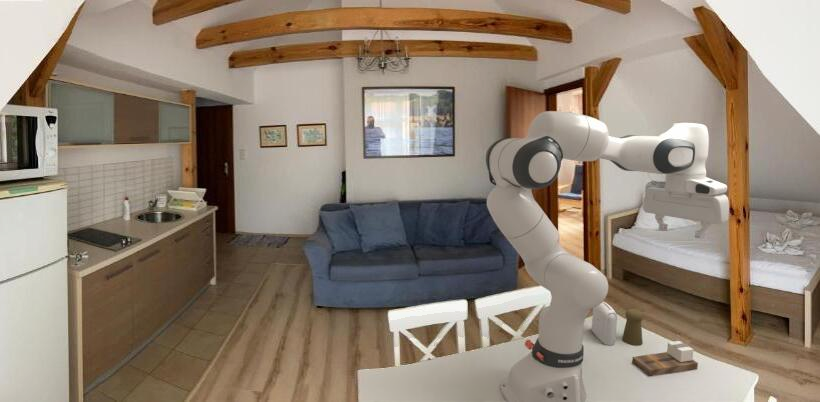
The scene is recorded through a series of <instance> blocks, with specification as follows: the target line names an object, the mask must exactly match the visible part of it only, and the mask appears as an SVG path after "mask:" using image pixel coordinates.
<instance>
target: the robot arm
mask: <svg viewBox="0 0 820 402" xmlns="http://www.w3.org/2000/svg"><path fill="white" fill-rule="evenodd" d="M709 137H710V136H709V130H708V127H707V126H706V125H704V123H699V122H696V121H694V122H693V121H692V122H691V121H677V122H674V123H673V124H672V126H671V127H670V128H669V129H668V130H667V131H666V132H663V133H660V134H659V135H656V136H655V135H636V134H628V135H627V134H626V135H624V136H619V137H614V136H610V132H609V128H608V126H607V125H606V123H605V122H603V121H601V120H599V119H597V118H594V117H592V116H589V115H586V114H585V115H584V114H581V113H576V112H570V111H559V110H556V111H555V110H548V111H542V112H541V113H539V114H537V115H536V116H534V119H533V120H532V121H531V123H530V126H529V130H528V134H527V135H526V136H525V137H524V138H523V137H521V138H520V137H504V138H503V137H502V138H500V139H498V140H496V141H494V142H493V143H492V144H490V146H489V147H488V149H487V151H486V153H485V165H486V168H487V169H486V170H487V171H488V178H489V182H490V183H491V184H493V186H495V187H494V188H493V189H492V190H491V191H490V193H489V194H488V196H487V198H486V207H487V210H488V212H489V214H490V216H491V217H492V219H493V221H494V223H495V225H496V226H497V227H498V229H499V230H500V232H501V233H502V235H504V237H505V239H507V241H508V243H510V244H511V245H512V247H513V249H514V250H515V251H516V252H517V253H518V255H519V257H521V259H522V260H523V263H524V267H525V271H526V272H527V274H528V275H529V276H530V278H532V279H533V281H535V283H537V284H538V285H540V286H541V287H542V288H544V289H545V290H547V291H549V292H550V295H551V298H550V303H549V305H547V306H546V307H544V308H543V309H542V310H540V312H539V315H538V335H537V336H538V337H537V338H536V341H535V342H534V343H533V342H532V341H531V340H530V339H526V340H525V341H524V346H525V347H526V348H527V350H530V351H531V352H528V354H526V355H525V356H524V357H522V358H521V359H520V360H519V361H517V362H516V363H514V364H513V365H512V366H511V368H510V370H509V374H508V376H507V377H505V378H502V379H501V380H500V384H499V389H500V393H501V394H502V396H503V398H504V399H505V401H506V402H585V401H586V399H587V393H586V391H585V385H584V379H583V367H582V366H583V362H584V354H585V352H584V350H585V348H584V345H583V340H584V338H583V337H584V329H585V322H586V317H587V315H588V313H590V310H593V308H595V307H597V306H598V305H600V304H601V303H602V302H605V299H607V298H606V297H607V295H608V292H609V281H608V279H607V277H606V275H605V274H604V273H602V272H601V271H600V270H599V269H598V268H596V267H595V266H594V265H593V264H592V263H589V262H587V261H586V260H584V259H580V258H579V257H577V256H574V255H573V254H571V253H569V252H568V251H567V250H565V249H564V248H563V247H562V245H560V243H559V241H560V234H559V231H558V229H557V228H556V226H555V225H554V224H553V222H552V221H551V220H550V219H549V217H548V215H547V214H546V213H545V212H544V210H543V208H542V207H541V206H540V205H539V203H538V202H537V201H536V200H535V198H534V195H533V192H532V190H540V189H544V188H546V187H549V186H550V185H552V184H553V183H554V182H555V180H556V179H557V177H558V175H559V172H560V169H561V167H562V161H563V160H569V161H574V162H595V161H597V160H599V159H603V160H605V161H606V160H608V161H610V162H612V163H613V164H614V165H615V166H616V167H618V168H619V169H620V170H622V171H627V172H641V173H648V174H649V173H650V174H658V175H665V181H658V180H651V181H649V182H647V184H645V188H644V189H645V191H644V192H645V194H644V198H643V203H642V210H643V212H644V213H646V214H647V213H648V214H653V215H654V216H655V217H654V218H655V220H656V223H657V224H658V230H659V231H662V232H666V231H667V230H668V226H669V224H667V223H665V219H664V218H665V217H669V218H670V217H671V218H677V219H682V220H688V221H689V220H690V221H694V222H700V227H701V228H700V229H698V230H695V232H694V234H695V235H694V237H695V238H696V239H704V238H705V234H706V231H707V230H708V229H709V228H710V227H711V225H722V224H726V223H727V222H728V220H729V215H730V202H729V197H728V196H727V195H726V194H725V193H726V192H727V191H728V186H727V184H725V183H722V182H721V181H720V182H719V181H718V180H714V179H712V178H709V177H707V170H706V163H707V159H708V157H709V148H710V145H709V144H710V138H709Z"/></svg>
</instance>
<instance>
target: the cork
mask: <svg viewBox="0 0 820 402" xmlns="http://www.w3.org/2000/svg"><path fill="white" fill-rule="evenodd" d="M625 318H626V321H625V322H626V323H625V325H624V330H623V334H622V338H621V339H622V342H623V343H625V344H626V345H630V346H634V347H641V346H642V345H643V331H642V329H643V328H642V321H643V320H644V313H643V312H642V310H640V309H637V308H628V309H626V311H625Z"/></svg>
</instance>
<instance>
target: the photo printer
mask: <svg viewBox="0 0 820 402" xmlns="http://www.w3.org/2000/svg"><path fill="white" fill-rule="evenodd" d="M591 320H592V321H591V322H592V323H591V331H592V333H593V334H594V336H595V337H596V338H597V339H598V340H600V341H601V342H602V343H603V344H604V345H605V346H615V344H616V339H617V324H618V323H617V321H618V316H617V313H616V311H615V310H614V308H613V307H612V306H611V305H610V304H608V303H607V302H605V301H603V302H602V303H601V304H600V305H598V306H597V307H595V308H592V319H591Z"/></svg>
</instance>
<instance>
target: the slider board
mask: <svg viewBox="0 0 820 402" xmlns="http://www.w3.org/2000/svg"><path fill="white" fill-rule="evenodd" d="M632 364H633V365H634V366H635V367H637V368H638V369H639V370H641V371H642V372H643V373H644V374H646V375H647V376H649V377H656V376H661V375H663V376H664V375H667V374H674V373H681V372H688V371H694V370H695V371H696V370H698V365H699V363H698V362H697V361H695V360H694V359H692V360H691V361H685V362H680V361H678V360H677V359H675V358H674V357H672V356H671V355H669V354H668V353H667V351H666V352H658V353H651V354H650V353H649V354H644V355H636V356H632Z"/></svg>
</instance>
